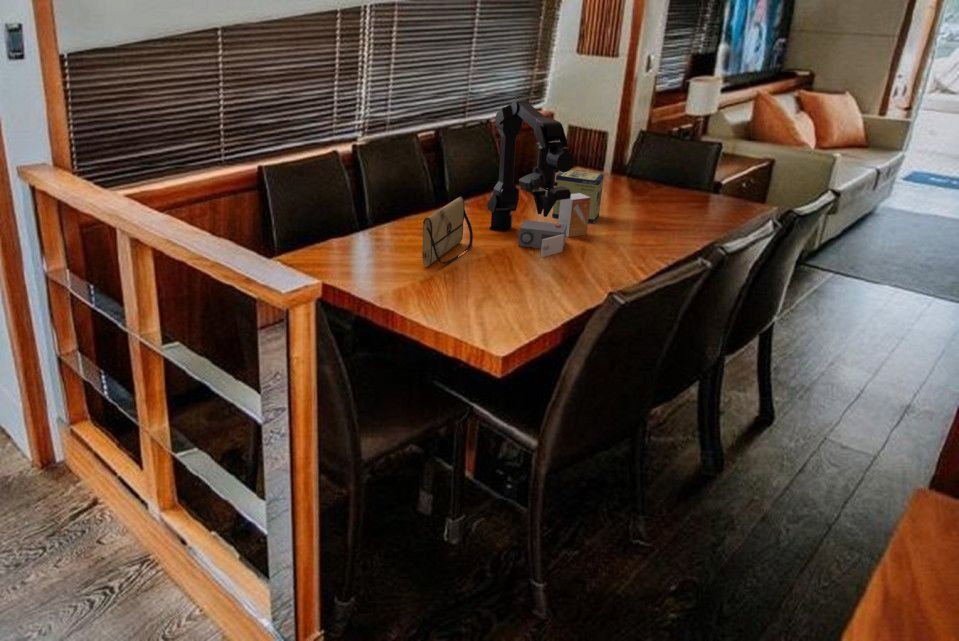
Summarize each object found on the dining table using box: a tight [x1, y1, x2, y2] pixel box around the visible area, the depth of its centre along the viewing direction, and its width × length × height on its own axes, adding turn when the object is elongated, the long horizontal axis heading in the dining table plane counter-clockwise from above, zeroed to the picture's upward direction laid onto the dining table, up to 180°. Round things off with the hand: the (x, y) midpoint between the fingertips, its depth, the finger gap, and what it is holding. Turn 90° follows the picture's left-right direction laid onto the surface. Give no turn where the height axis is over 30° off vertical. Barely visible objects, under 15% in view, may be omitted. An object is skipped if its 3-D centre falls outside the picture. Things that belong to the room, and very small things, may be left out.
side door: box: [540, 234, 565, 258], centre depth 244 cm, size 10×1×6 cm, turn 132°
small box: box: [557, 193, 591, 238], centre depth 264 cm, size 8×6×13 cm
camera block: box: [517, 219, 567, 249], centre depth 252 cm, size 14×10×7 cm
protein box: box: [551, 169, 605, 224], centre depth 282 cm, size 10×16×16 cm
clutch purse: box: [421, 196, 474, 267], centre depth 237 cm, size 30×7×15 cm, turn 160°
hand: (542, 215), depth 241 cm, fingers open, 3 cm apart
